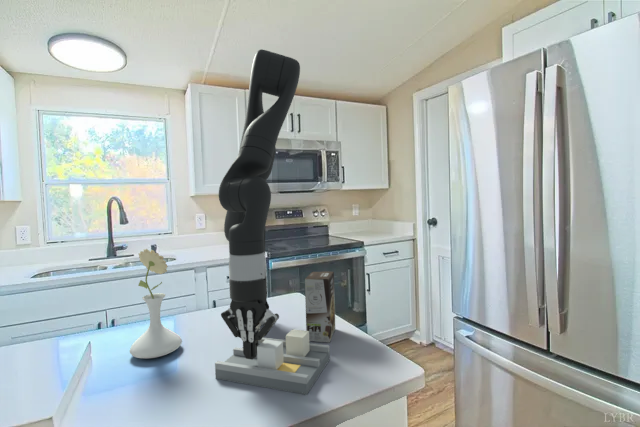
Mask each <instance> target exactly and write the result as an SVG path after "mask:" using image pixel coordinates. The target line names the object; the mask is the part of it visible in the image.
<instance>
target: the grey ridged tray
mask: <svg viewBox="0 0 640 427" xmlns="http://www.w3.org/2000/svg"><path fill="white" fill-rule="evenodd" d="M264 340H274V341H282V342H283V360H284V363H283V364H282V365H281V366H280V367H279V368H278V369H277V370H273V369H267V368H260V367H258V361H257V355H256V357H255V358H254V359H246V358H245V355H244V354H243V346H242V347H237V346H236V347H234V348H233V350H232V351H233V354H232V355H231V356H229V357H228V358H227V359H226V360H225V361H223V360H222V361H221V360H217V361H216V362H214V371H215V374H214V375H215V379H217V380H223V381H229V382H234V383H238V384H244V385H245V384H246V385H250V386H256V387H261V388H266V389H273V390H278V391H285V392H289V393H295V394H301V395H307V396H308V394H309V392H310V391H311V389H312V387H313V386H314V385H315V383H316V382H317V380H318V378H319V377H320V375H321V373H322V372H323V371H324V369H325V367H326V366H327V365H328V363H329V361H330V360H331V357H330V355H331V354H330V345H328V344H321V343H320V344H319V343H311V342H309V347H310V351H309V352H308V353H307V354H306V356H305V357H302V356H295V355H288V354H286V339H281V338H280V339H279V338H270V337H265V336H264V337H263V338H262V339H261V340H258V345H260V344H261V343H262V342H263V341H264Z"/></svg>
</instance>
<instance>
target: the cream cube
mask: <svg viewBox="0 0 640 427" xmlns="http://www.w3.org/2000/svg"><path fill="white" fill-rule="evenodd" d="M285 340H286V354H288V355H295V356H302V357H305V356H306V354H307V353H308V352H309V351H310V347H309V343H310V341H309V331H306V330H304V329H303V330H300V329H295V328H294V329H291V330H290V331H289V332H288V333H286V335H285Z"/></svg>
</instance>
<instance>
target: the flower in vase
mask: <svg viewBox="0 0 640 427" xmlns="http://www.w3.org/2000/svg"><path fill="white" fill-rule="evenodd" d="M138 258H139V261H140V263H142V265H143V266H144V267H145V268H146V269H147V271H146V274H145V281H144V280H142V279H141V280H139V282H138V287H142V288H144V289H146V290H147V289H148V291H149V293H150V294H146V295H144V296H143V297H142V300H143V301H144V302H145V303H146V305H147V307H148V308H147V309H148V311H149V312H148V313H149V325H148V328H147V329H146V330H145V331H144V332H143V333H142V334H141V335H140V336H139V337H138V338H137V339H135V341H134V342H133V343H132V344H131V346H130V347H129V348H130V349H129V353H130V355H131V356H133V357H134V358H137V359H156V358H159V357H163V356H166V355H168V354H171V353H172V352H174V351H176V350H178V348H180V346H181V345H182V342H183V339H182V337H181V336H180V335H179V334H178V333H176V332H174V331H172V330H170V329H169V328H167V327H165V326H164V325H163V324H162V321H161V320H162V319H161V307H162V303H163V300H164V298H165V297H166V293H161V292H159V293H158V292H157V293H156V292H155V293H153V292H152V291H153V290H154V289H155V290H156V288H158V287H159V286H161V285H162V284H163V282H162V281H161V282H160V283H159V284H157V285H155V286H153V287H152V288H150V286H149V284H148V275H149V272H152V273H154V274H157V275H158V274H160V275H162V274H165V273H167V272H168V267H169V266H168V265H167V261H166V260H164V256H162V255H160V254H159V253H158V252H156V251H155V250H153V249H151V250H149V249H148V248H144V249H143V250H142V251H141V250H140V252H139V253H138Z"/></svg>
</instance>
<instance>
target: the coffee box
mask: <svg viewBox="0 0 640 427" xmlns="http://www.w3.org/2000/svg"><path fill="white" fill-rule="evenodd" d="M304 291H305V292H304V295H305V331H309V342H318V343H319V342H320V343H330V342H331V340H332V338H333V336H334V333H335V331H336V305H335V304H336V303H335V302H336V300H335V297H336V296H335V272H334V271H312V272H311V273H309V274H308V275H307V276H306V277H305V278H304Z"/></svg>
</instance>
